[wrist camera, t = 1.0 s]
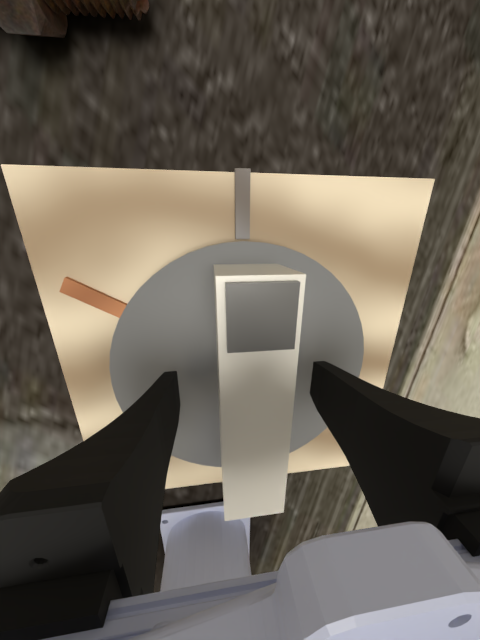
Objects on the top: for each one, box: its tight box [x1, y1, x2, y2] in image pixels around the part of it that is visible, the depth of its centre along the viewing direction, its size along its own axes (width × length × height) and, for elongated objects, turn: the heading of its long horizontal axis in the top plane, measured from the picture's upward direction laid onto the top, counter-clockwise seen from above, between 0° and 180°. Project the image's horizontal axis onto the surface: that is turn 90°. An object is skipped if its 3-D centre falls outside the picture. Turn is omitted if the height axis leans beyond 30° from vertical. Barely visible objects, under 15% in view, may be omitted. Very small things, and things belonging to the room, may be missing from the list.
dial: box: [109, 241, 364, 521], centre depth 11 cm, size 14×14×5 cm
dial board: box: [1, 164, 435, 489], centre depth 15 cm, size 20×20×2 cm
